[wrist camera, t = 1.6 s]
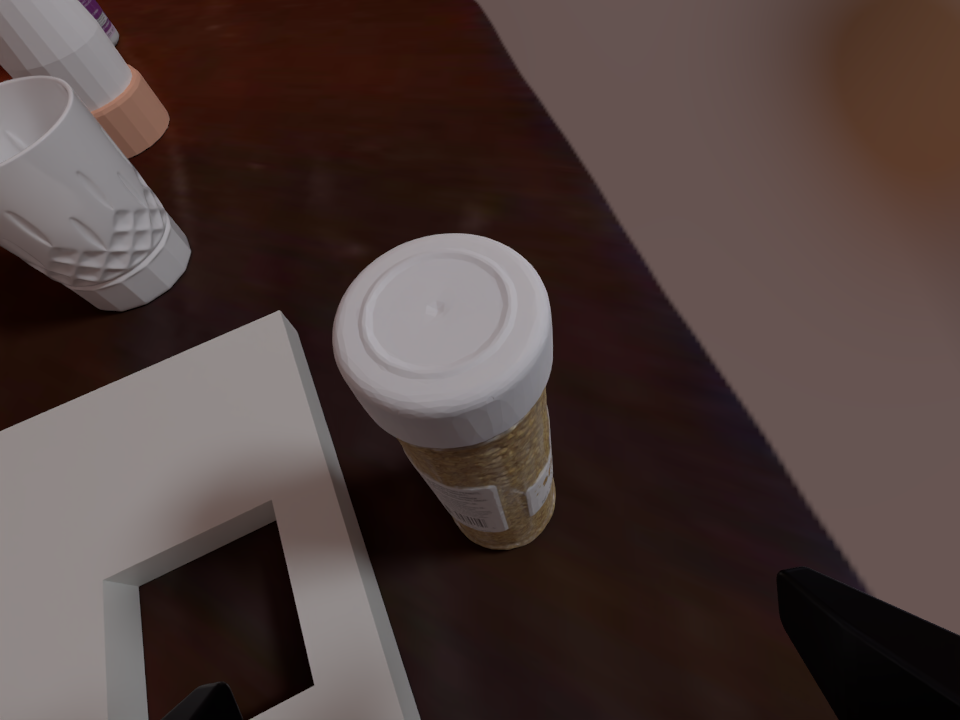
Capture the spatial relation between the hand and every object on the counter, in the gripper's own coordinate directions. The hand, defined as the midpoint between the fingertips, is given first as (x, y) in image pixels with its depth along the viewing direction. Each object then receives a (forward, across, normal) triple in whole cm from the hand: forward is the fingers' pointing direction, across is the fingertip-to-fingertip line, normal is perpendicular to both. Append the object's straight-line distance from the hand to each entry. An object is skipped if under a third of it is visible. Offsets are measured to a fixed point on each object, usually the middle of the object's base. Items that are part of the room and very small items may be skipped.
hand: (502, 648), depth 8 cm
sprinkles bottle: (+13, 0, +4) cm, 14 cm away
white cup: (+26, +20, -8) cm, 34 cm away
